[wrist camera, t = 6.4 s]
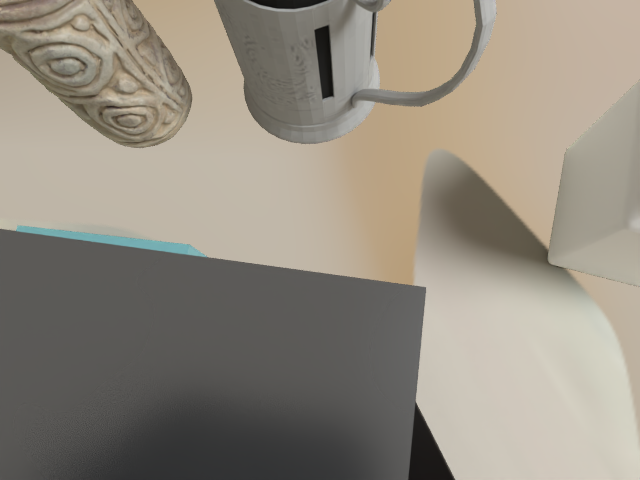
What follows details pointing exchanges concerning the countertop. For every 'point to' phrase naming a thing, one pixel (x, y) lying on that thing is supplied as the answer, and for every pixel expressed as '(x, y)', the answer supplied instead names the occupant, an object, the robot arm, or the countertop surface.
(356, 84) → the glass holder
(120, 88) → the carving
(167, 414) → the tall grey square pillar
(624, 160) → the medicine bottle
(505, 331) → the countertop surface
